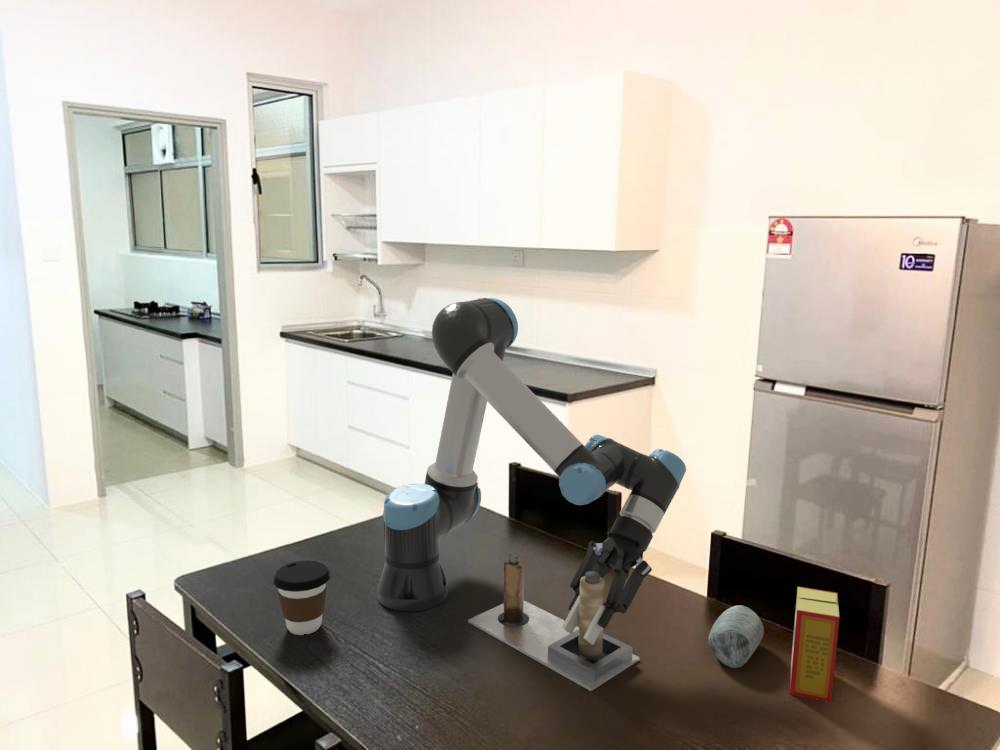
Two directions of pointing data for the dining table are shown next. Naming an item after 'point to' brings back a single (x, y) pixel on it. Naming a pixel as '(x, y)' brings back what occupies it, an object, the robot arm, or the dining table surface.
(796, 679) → the baking soda box
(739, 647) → the spool
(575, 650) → the bolt plate
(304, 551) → the dining table surface
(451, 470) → the robot arm
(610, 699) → the dining table surface
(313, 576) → the coffee cup
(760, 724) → the dining table surface
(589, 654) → the birch leg peg
